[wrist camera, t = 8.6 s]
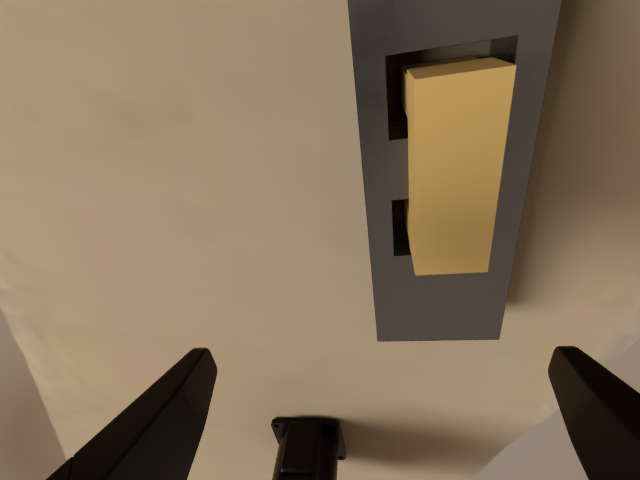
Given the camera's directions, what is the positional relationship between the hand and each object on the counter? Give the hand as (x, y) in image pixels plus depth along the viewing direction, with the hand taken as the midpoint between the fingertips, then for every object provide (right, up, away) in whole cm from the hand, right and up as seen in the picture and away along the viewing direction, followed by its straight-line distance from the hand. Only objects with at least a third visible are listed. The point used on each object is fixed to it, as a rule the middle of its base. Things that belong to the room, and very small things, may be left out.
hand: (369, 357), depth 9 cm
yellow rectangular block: (+4, +8, +8) cm, 12 cm away
